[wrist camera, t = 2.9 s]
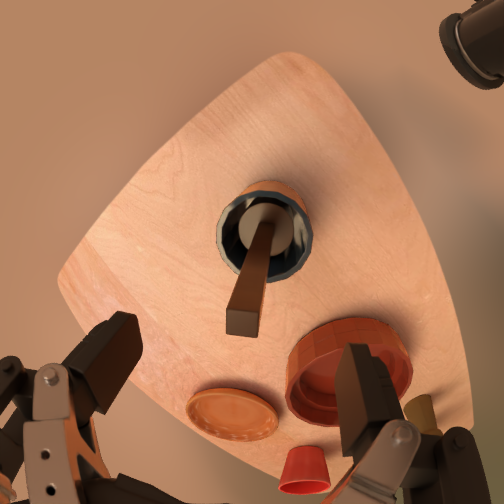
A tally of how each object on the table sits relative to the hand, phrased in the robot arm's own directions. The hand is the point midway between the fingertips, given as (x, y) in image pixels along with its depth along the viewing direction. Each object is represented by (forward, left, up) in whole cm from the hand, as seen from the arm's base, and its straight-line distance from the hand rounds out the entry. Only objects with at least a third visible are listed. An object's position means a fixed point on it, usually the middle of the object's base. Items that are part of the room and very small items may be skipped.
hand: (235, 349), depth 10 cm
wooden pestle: (0, 0, -21) cm, 21 cm away
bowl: (+20, +13, -21) cm, 32 cm away
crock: (0, 0, -21) cm, 21 cm away
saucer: (+34, -3, -21) cm, 40 cm away
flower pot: (+50, +13, -21) cm, 56 cm away
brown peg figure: (+32, +32, -21) cm, 50 cm away
